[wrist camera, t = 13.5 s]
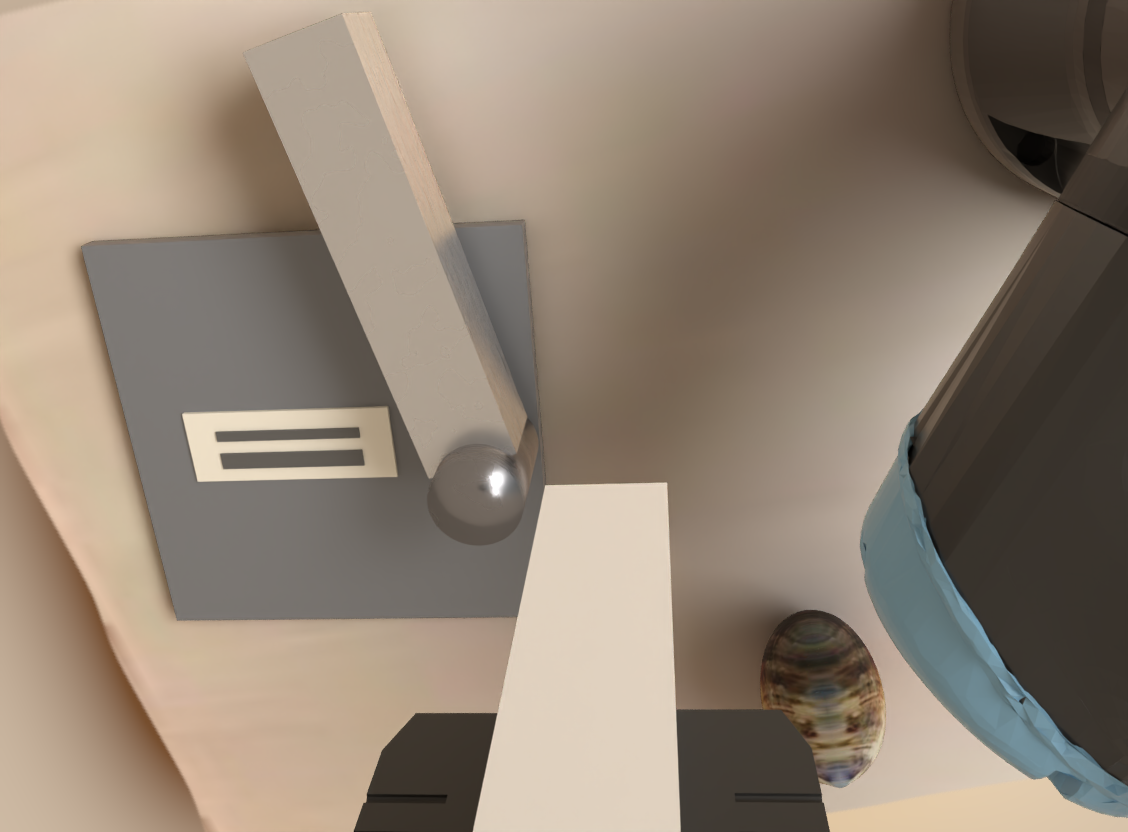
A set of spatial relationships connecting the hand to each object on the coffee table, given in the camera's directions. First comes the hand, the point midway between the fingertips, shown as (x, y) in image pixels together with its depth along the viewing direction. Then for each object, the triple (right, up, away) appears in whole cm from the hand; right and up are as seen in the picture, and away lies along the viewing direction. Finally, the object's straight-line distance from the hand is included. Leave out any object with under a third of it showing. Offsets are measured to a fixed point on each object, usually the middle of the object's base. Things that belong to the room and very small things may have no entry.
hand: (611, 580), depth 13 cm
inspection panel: (-12, +1, +36) cm, 38 cm away
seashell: (+12, -10, +39) cm, 42 cm away
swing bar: (-7, +8, +31) cm, 32 cm away
